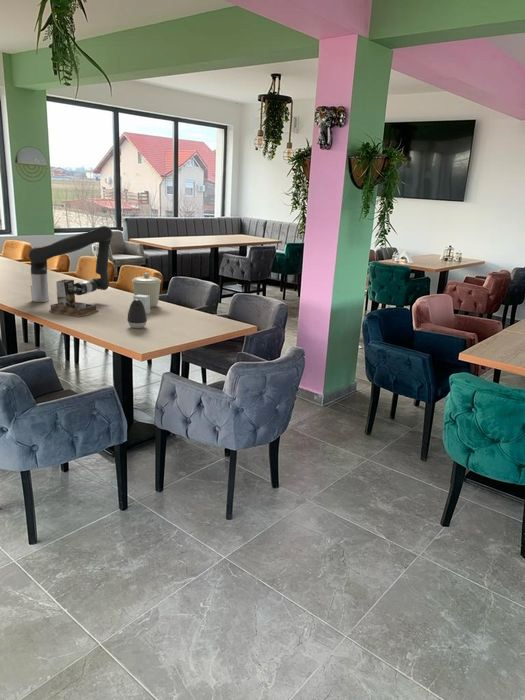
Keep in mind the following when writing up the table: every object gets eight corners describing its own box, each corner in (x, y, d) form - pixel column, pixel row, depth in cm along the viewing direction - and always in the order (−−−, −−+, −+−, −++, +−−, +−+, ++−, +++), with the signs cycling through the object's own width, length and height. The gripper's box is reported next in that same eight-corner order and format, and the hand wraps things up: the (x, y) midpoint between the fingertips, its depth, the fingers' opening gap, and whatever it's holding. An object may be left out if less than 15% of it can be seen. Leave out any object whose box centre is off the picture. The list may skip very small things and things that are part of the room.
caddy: (49, 311, 308) (48, 303, 307) (68, 306, 322) (68, 298, 321) (79, 316, 300) (79, 308, 299) (98, 311, 315) (97, 303, 313)
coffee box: (67, 310, 308) (65, 282, 303) (57, 309, 309) (55, 281, 304) (76, 306, 316) (74, 279, 312) (66, 305, 318) (64, 278, 313)
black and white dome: (129, 330, 278) (128, 301, 274) (126, 325, 287) (125, 297, 283) (149, 329, 282) (148, 301, 278) (145, 324, 291) (144, 297, 287)
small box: (150, 313, 318) (150, 295, 315) (145, 314, 313) (145, 297, 310) (138, 311, 320) (138, 294, 317) (133, 313, 315) (133, 295, 312)
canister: (141, 310, 322) (140, 275, 316) (126, 305, 335) (126, 271, 329) (167, 307, 334) (167, 274, 328) (152, 302, 347) (151, 269, 340)
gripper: (72, 280, 324) (53, 284, 309) (92, 283, 319) (72, 287, 304) (73, 292, 326) (54, 297, 312) (92, 295, 321) (73, 300, 307)
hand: (63, 292), depth 308 cm, fingers closed on coffee box, 7 cm apart
